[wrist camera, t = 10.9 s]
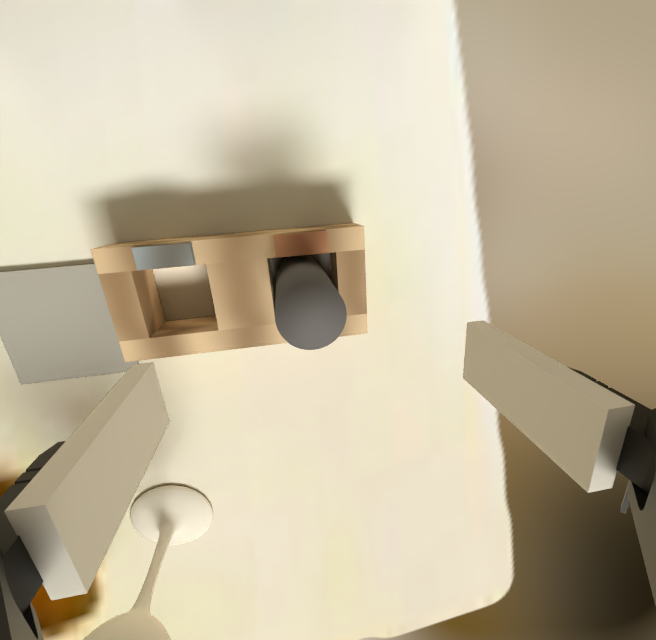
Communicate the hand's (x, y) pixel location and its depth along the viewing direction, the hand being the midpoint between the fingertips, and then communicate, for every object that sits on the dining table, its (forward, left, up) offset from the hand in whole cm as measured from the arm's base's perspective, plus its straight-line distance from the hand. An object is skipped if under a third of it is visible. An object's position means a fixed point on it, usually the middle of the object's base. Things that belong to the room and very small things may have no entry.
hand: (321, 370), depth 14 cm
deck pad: (-21, -2, -18) cm, 27 cm away
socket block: (-5, 0, -18) cm, 18 cm away
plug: (0, 0, -18) cm, 18 cm away
